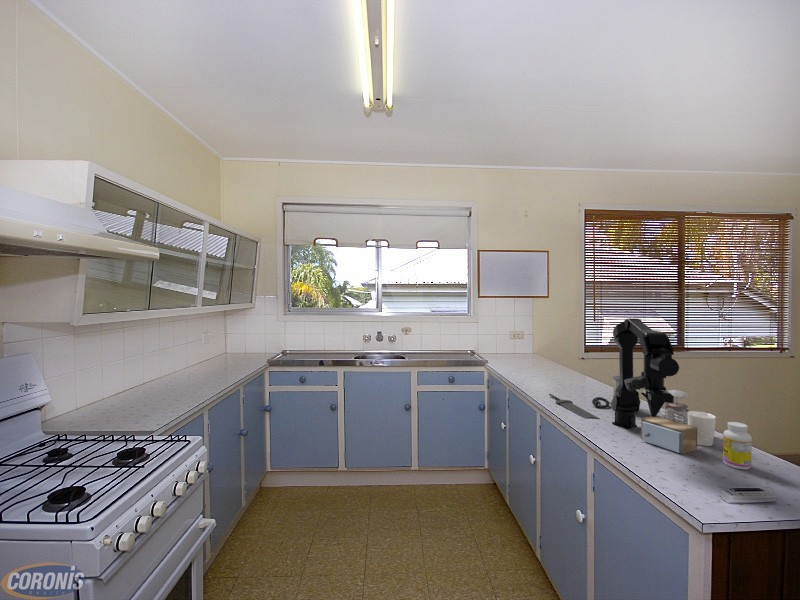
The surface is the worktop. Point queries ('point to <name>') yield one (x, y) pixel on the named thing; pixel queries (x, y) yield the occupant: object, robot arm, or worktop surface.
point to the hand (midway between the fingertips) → (653, 416)
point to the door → (662, 437)
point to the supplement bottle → (737, 446)
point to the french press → (677, 407)
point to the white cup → (703, 426)
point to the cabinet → (687, 430)
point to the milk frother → (596, 399)
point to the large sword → (574, 408)
